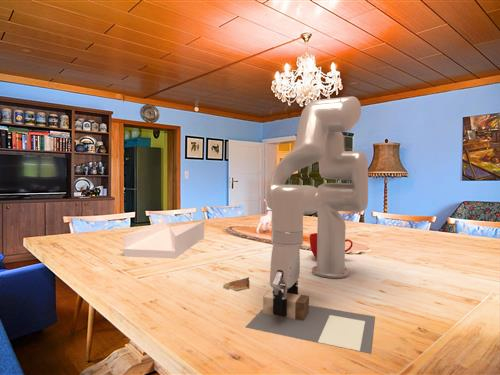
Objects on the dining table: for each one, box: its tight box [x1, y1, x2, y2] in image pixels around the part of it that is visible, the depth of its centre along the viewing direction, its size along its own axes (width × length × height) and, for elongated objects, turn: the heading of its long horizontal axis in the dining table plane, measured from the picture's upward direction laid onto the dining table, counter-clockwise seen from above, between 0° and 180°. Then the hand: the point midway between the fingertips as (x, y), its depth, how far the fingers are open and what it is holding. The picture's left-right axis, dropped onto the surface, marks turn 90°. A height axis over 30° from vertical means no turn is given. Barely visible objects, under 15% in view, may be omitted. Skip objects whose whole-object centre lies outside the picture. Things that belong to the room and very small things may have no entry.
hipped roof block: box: [123, 220, 205, 259], centre depth 156 cm, size 45×22×10 cm, turn 173°
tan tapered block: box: [262, 289, 310, 321], centre depth 79 cm, size 10×5×4 cm, turn 67°
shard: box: [222, 277, 251, 292], centre depth 100 cm, size 11×8×2 cm
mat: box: [245, 304, 376, 355], centre depth 75 cm, size 18×26×1 cm
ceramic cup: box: [309, 232, 354, 260], centre depth 132 cm, size 13×17×10 cm
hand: (286, 307), depth 79 cm, fingers open, 9 cm apart
